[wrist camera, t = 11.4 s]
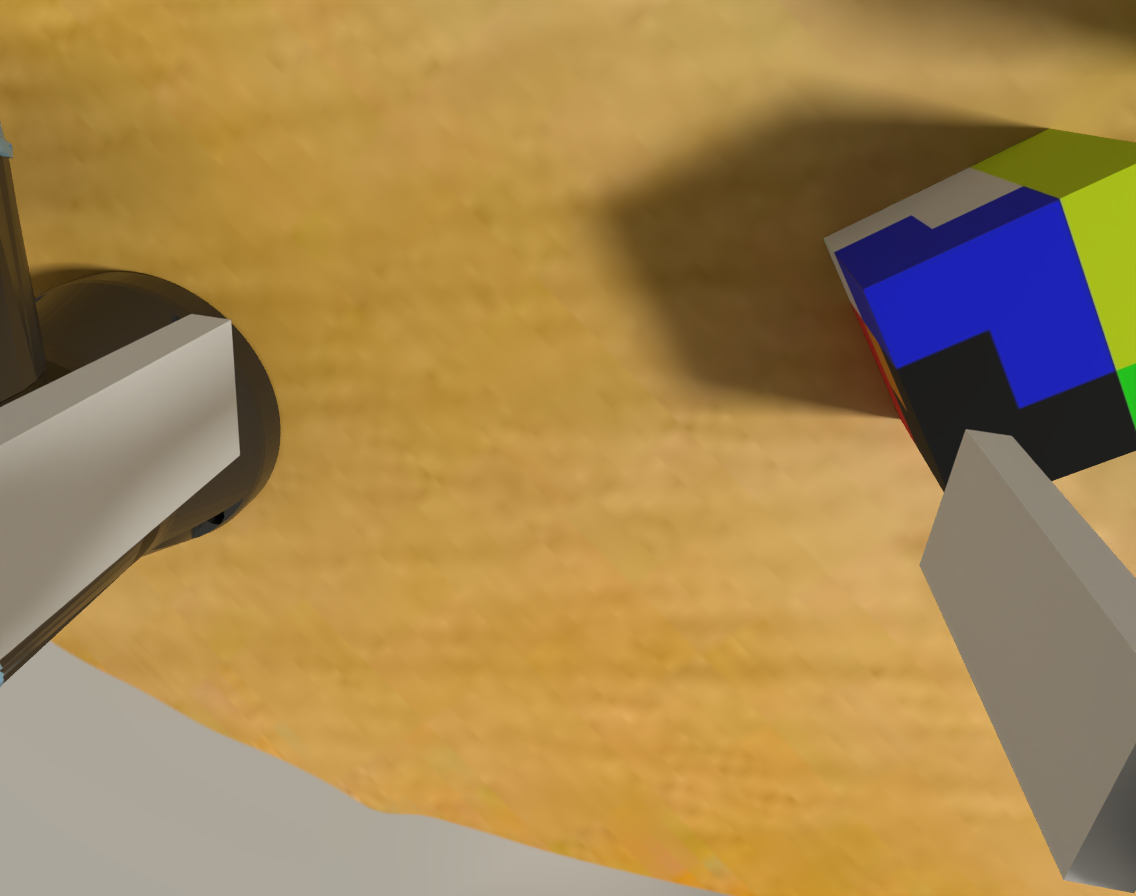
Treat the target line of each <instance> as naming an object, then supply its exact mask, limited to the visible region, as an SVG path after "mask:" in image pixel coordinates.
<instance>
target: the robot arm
mask: <svg viewBox="0 0 1136 896" xmlns="http://www.w3.org/2000/svg"><path fill="white" fill-rule="evenodd" d="M9 158H14V157H13V149H12V145H11V143H9V142H8V141H7V140H6V139H5V138H4V134H3V131H2V127H1V123H0V687H1V686H2V684H3V683H4V682H5V681H6V680H8V679H9V678H10V677H11V676H12V675H13V674H14V673H15V672H16V671H17V670H18V669H20V668H21V667H22V666H23V665H24V664H25V663H26V662H27V661H28V660H29V659H30V658H31V657H33V656H34V655H35V654H36V653H37V652H38V651H39V650H40V649H41V648H42V647H43V646H44V645H46V643H48V642H49V641H50V640H51V639H52V638H53V637H54V636H55V635H56V634H57V633H58V632H60V631H61V630H62V629H63V628H64V627H65V626H66V625H67V624H68V623H69V622H70V621H71V620H73V619H74V618H75V617H76V616H77V615H78V614H79V613H80V612H81V611H82V610H83V609H84V608H86V607H87V606H88V605H89V604H90V603H91V602H92V601H93V600H94V599H95V598H96V597H97V596H99V595H100V594H101V593H102V592H103V591H104V590H105V589H106V588H107V587H108V586H109V585H110V584H112V583H113V582H114V581H115V580H116V579H117V578H118V577H119V576H120V575H121V574H122V573H123V572H125V571H126V570H127V569H128V568H129V567H130V566H131V565H132V564H133V563H135V562H136V561H137V560H138V559H139V558H140V557H142V556H145V555H148V554H151V553H154V552H156V551H159V550H162V549H165V548H168V547H171V546H173V545H176V544H179V543H182V542H185V541H188V540H191V539H193V538H197V537H200V536H202V535H205V534H207V533H210V532H212V531H214V530H216V529H218V528H219V527H221V526H222V525H224V524H226V523H227V522H229V521H230V520H231V519H233V518H234V517H235V516H236V515H237V514H238V513H239V512H240V511H241V510H242V509H243V508H244V507H246V506H247V505H248V504H249V503H250V502H251V501H252V500H253V499H254V498H255V497H256V496H257V495H258V493H259V492H260V491H261V490H262V488H263V487H264V486H265V484H266V483H267V481H268V479H269V478H270V475H271V473H272V471H273V469H274V466H275V463H276V460H277V456H278V451H279V445H280V417H279V410H278V405H277V401H276V397H275V394H274V390H273V388H272V385H271V382H270V380H269V377H268V375H267V373H266V371H265V369H264V367H263V365H262V363H261V361H260V360H259V358H258V356H257V355H256V353H255V351H254V350H253V349H252V347H251V346H250V344H249V343H248V342H247V340H246V339H245V338H244V337H243V335H242V334H241V333H240V332H239V331H238V330H237V329H236V327H235V326H234V325H233V324H232V323H231V320H229V319H227V318H226V317H224V316H223V315H222V314H221V313H220V312H219V311H218V310H216V309H215V308H214V307H212V306H211V305H210V304H208V303H207V302H206V301H204V300H203V299H201V298H200V297H198V296H196V295H195V294H193V293H191V292H190V291H188V290H186V289H184V288H182V287H180V286H178V285H175V284H173V283H171V282H168V281H165V280H162V279H160V278H156V277H153V276H149V275H144V274H139V273H131V272H105V273H97V274H93V275H89V276H85V277H82V278H79V279H76V280H73V281H71V282H68V283H65V284H62V285H59V286H56V287H54V288H52V289H49V290H47V291H46V292H44V293H42V294H40V295H39V296H37V297H36V298H34V293H33V288H32V283H31V277H30V272H29V267H28V262H27V256H26V251H25V246H24V241H23V236H22V230H21V225H20V220H19V215H18V210H17V204H16V198H15V192H14V186H13V180H12V174H11V168H10V162H9ZM920 567H921V569H922V571H923V574H924V576H925V578H926V580H927V582H928V584H929V587H930V589H931V591H932V593H933V595H934V598H935V600H936V602H937V604H938V606H939V609H940V611H941V613H942V615H943V617H944V619H945V622H946V624H947V626H948V628H949V630H950V633H951V635H952V637H953V639H954V641H955V643H956V646H957V648H958V650H959V652H960V654H961V657H962V659H963V661H964V663H965V665H966V668H967V670H968V672H969V674H970V676H971V678H972V681H973V683H974V685H975V687H976V689H977V692H978V694H979V696H980V698H981V700H982V702H983V705H984V707H985V709H986V711H987V713H988V716H989V718H990V720H991V722H992V724H993V727H994V729H995V731H996V733H997V735H998V737H999V740H1000V742H1001V744H1002V746H1003V748H1004V751H1005V753H1006V755H1007V757H1008V759H1009V761H1010V764H1011V766H1012V768H1013V770H1014V772H1015V775H1016V777H1017V779H1018V781H1019V783H1020V786H1021V788H1022V790H1023V792H1024V794H1025V796H1026V799H1027V801H1028V803H1029V805H1030V807H1031V810H1032V812H1033V814H1034V816H1035V818H1036V821H1037V823H1038V825H1039V827H1040V829H1041V831H1042V834H1043V836H1044V838H1045V840H1046V842H1047V845H1048V847H1049V849H1050V851H1051V853H1052V855H1053V858H1054V860H1055V862H1056V864H1057V866H1058V869H1059V871H1060V873H1061V875H1062V877H1063V880H1067V881H1072V882H1077V883H1083V884H1088V885H1093V886H1099V887H1104V888H1109V889H1115V890H1120V891H1125V892H1131V893H1134V892H1135V891H1136V578H1135V577H1134V576H1133V575H1132V574H1131V572H1130V571H1129V570H1128V569H1127V568H1126V567H1125V566H1124V564H1123V563H1122V562H1121V561H1120V560H1119V559H1118V557H1117V556H1116V555H1115V554H1114V553H1113V552H1112V551H1111V549H1110V548H1109V547H1108V546H1107V545H1106V544H1105V543H1104V541H1103V540H1102V539H1101V538H1100V537H1099V536H1098V534H1097V533H1096V532H1095V531H1094V530H1093V529H1092V528H1091V526H1090V525H1089V524H1088V523H1087V522H1086V521H1085V520H1084V518H1083V517H1082V516H1081V515H1080V514H1079V513H1078V511H1077V510H1076V509H1075V508H1074V507H1073V506H1072V505H1071V503H1070V502H1069V501H1068V500H1067V499H1066V498H1065V497H1064V495H1063V494H1062V493H1061V492H1060V491H1059V490H1058V488H1057V487H1056V486H1055V485H1054V484H1053V483H1052V482H1051V480H1050V479H1049V478H1048V477H1047V476H1046V475H1045V474H1044V472H1043V471H1042V470H1041V469H1040V468H1039V467H1038V465H1037V464H1036V463H1035V462H1034V461H1033V460H1032V459H1031V457H1030V456H1029V455H1028V454H1027V453H1026V452H1025V451H1024V449H1023V448H1022V447H1021V446H1020V445H1019V444H1018V443H1017V441H1016V440H1015V439H1014V438H1013V437H1012V436H1009V435H1002V434H995V433H988V432H982V431H975V430H968V429H966V430H965V433H964V436H963V439H962V442H961V445H960V447H959V450H958V453H957V456H956V459H955V462H954V465H953V468H952V471H951V474H950V477H949V480H948V483H947V486H946V489H945V492H944V495H943V498H942V500H941V503H940V506H939V509H938V512H937V515H936V518H935V521H934V524H933V527H932V530H931V533H930V536H929V539H928V542H927V545H926V548H925V551H924V553H923V556H922V559H921V562H920Z"/></svg>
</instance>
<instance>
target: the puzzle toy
mask: <svg viewBox="0 0 1136 896" xmlns="http://www.w3.org/2000/svg"><path fill="white" fill-rule="evenodd" d="M823 239H824V242H825V244H826V246H827V249H828V251H829V253H830V256H831V258H832V260H833V263H834V265H835V267H836V270H837V272H838V274H839V277H840V279H841V281H842V284H843V286H844V288H845V291H846V293H847V295H848V298H849V300H850V302H851V305H852V307H853V309H854V312H855V314H856V316H857V319H858V321H859V323H860V326H861V328H862V330H863V333H864V335H865V337H866V340H867V342H868V344H869V347H870V349H871V351H872V354H873V356H874V358H875V361H876V363H877V365H878V368H879V370H880V372H881V375H882V377H883V379H884V382H885V384H886V386H887V389H888V391H889V393H890V396H891V398H892V400H893V403H894V405H895V407H896V410H897V412H898V414H899V417H900V419H901V421H902V423H903V424H904V426H905V428H906V429H907V431H908V433H909V434H910V436H911V438H912V439H913V441H914V443H915V444H916V446H917V448H918V449H919V451H920V453H921V454H922V456H923V458H924V459H925V461H926V463H927V464H928V466H929V468H930V470H931V471H932V473H933V475H934V476H935V478H936V480H937V481H938V483H939V485H940V486H941V488H942V490H943V491H944V492H945V489H946V486H947V483H948V480H949V477H950V474H951V471H952V468H953V465H954V462H955V459H956V456H957V453H958V450H959V447H960V445H961V442H962V439H963V436H964V433H965V430H966V429H968V430H975V431H982V432H988V433H995V434H1002V435H1009V436H1012V437H1013V438H1014V439H1015V440H1016V441H1017V443H1018V444H1019V445H1020V446H1021V447H1022V448H1023V449H1024V451H1025V452H1026V453H1027V454H1028V455H1029V456H1030V457H1031V459H1032V460H1033V461H1034V462H1035V463H1036V464H1037V465H1038V467H1039V468H1040V469H1041V470H1042V471H1043V472H1044V474H1045V475H1046V476H1047V477H1048V478H1049V479H1050V480H1051V481H1053V480H1056V479H1059V478H1062V477H1064V476H1067V475H1070V474H1073V473H1075V472H1078V471H1081V470H1084V469H1086V468H1089V467H1092V466H1095V465H1097V464H1100V463H1103V462H1106V461H1108V460H1111V459H1114V458H1117V457H1120V456H1122V455H1125V454H1128V453H1131V452H1133V451H1136V143H1134V142H1128V141H1122V140H1116V139H1110V138H1104V137H1098V136H1092V135H1086V134H1080V133H1073V132H1067V131H1061V130H1055V129H1047V130H1045V131H1043V132H1041V133H1039V134H1037V135H1035V136H1033V137H1031V138H1029V139H1027V140H1024V141H1022V142H1020V143H1018V144H1016V145H1014V146H1012V147H1010V148H1008V149H1006V150H1004V151H1002V152H1000V153H998V154H996V155H994V156H992V157H990V158H987V159H985V160H983V161H981V162H979V163H977V164H975V165H973V166H971V167H969V168H967V169H965V170H963V171H961V172H959V173H957V174H955V175H952V176H950V177H948V178H946V179H944V180H942V181H940V182H938V183H936V184H934V185H932V186H930V187H928V188H926V189H924V190H922V191H920V192H918V193H915V194H913V195H911V196H909V197H907V198H905V199H903V200H901V201H899V202H897V203H895V204H893V205H891V206H889V207H887V208H885V209H883V210H881V211H878V212H876V213H874V214H872V215H870V216H868V217H866V218H864V219H862V220H860V221H858V222H856V223H854V224H852V225H850V226H848V227H846V228H844V229H841V230H839V231H837V232H835V233H833V234H831V235H829V236H827V237H825V238H823Z"/></svg>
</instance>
